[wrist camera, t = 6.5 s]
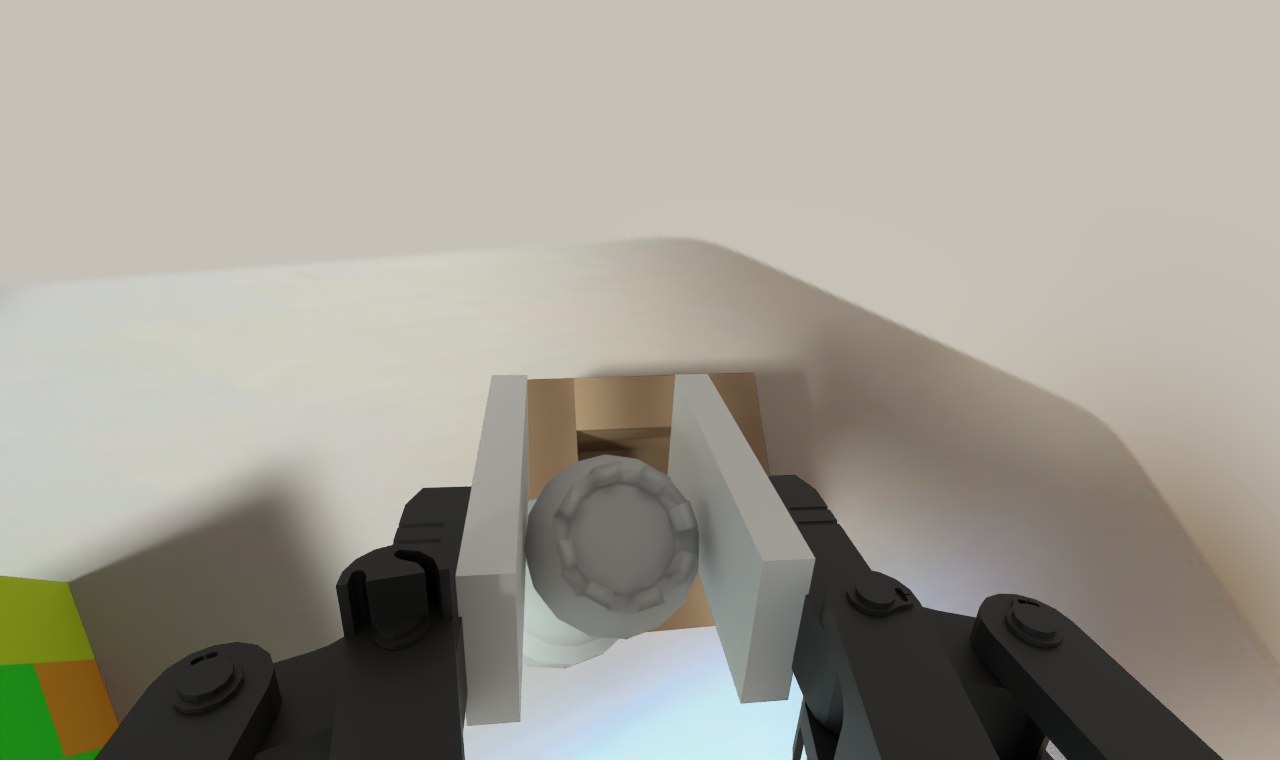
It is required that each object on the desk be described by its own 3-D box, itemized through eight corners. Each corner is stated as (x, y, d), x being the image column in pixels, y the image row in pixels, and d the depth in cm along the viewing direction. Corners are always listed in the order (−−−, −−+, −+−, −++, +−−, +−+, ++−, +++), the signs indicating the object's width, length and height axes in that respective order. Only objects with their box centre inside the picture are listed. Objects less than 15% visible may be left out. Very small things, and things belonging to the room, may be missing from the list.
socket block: (527, 641, 27) (523, 643, 23) (522, 414, 31) (518, 380, 26) (756, 620, 29) (792, 618, 24) (726, 406, 32) (753, 372, 28)
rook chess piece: (546, 469, 19) (608, 361, 12) (662, 568, 19) (795, 517, 12) (435, 593, 17) (430, 552, 10) (565, 706, 17) (655, 745, 10)
